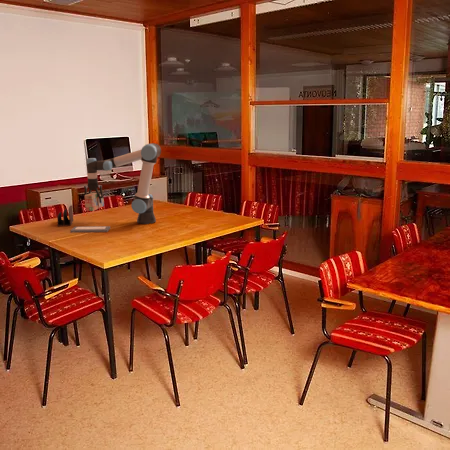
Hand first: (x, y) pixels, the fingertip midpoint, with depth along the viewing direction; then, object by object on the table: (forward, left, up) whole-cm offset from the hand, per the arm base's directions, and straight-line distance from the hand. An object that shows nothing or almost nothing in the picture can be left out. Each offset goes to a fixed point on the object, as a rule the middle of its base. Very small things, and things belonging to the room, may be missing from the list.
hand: (94, 207), depth 389 cm
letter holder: (+24, -4, -14) cm, 29 cm away
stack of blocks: (0, -1, -1) cm, 2 cm away
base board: (-1, +21, -14) cm, 25 cm away
